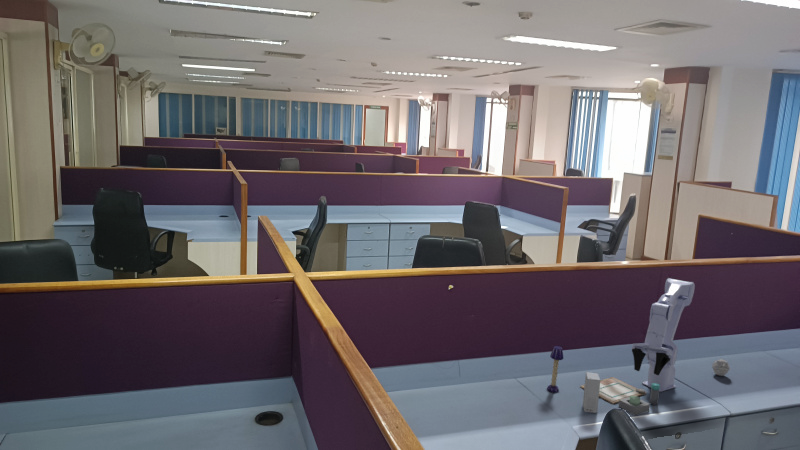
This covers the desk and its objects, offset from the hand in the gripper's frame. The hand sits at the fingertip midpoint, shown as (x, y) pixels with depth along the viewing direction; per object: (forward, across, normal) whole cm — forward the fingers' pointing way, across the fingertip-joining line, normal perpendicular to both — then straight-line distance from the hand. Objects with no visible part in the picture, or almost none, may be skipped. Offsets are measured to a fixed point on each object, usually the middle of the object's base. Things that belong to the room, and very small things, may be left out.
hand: (646, 372), depth 200 cm
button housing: (+13, -1, 0) cm, 13 cm away
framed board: (+8, -14, +4) cm, 17 cm away
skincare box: (+19, -9, -13) cm, 24 cm away
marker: (+9, 0, +9) cm, 12 cm away
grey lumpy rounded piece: (-14, -2, +49) cm, 51 cm away
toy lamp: (+16, -24, -14) cm, 33 cm away
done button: (+13, -1, 0) cm, 13 cm away
